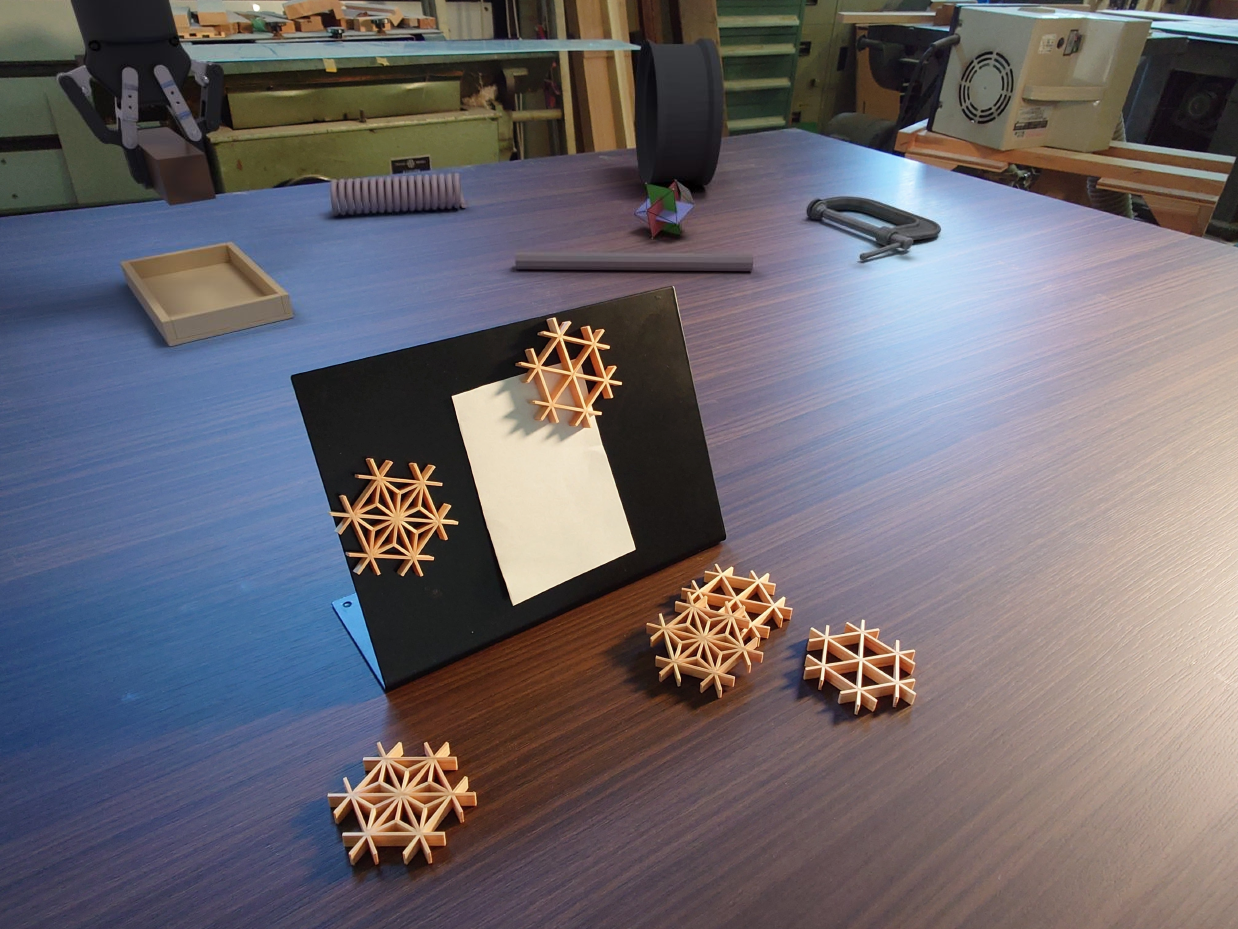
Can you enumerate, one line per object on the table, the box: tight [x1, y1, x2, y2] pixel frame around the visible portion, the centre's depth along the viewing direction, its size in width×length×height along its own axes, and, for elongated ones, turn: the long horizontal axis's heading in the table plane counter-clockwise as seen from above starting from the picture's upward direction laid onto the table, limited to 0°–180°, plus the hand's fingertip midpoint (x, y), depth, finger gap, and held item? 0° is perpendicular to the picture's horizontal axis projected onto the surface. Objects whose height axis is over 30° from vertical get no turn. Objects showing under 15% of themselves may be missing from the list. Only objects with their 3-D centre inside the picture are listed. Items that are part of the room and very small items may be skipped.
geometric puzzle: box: [632, 180, 696, 240], centre depth 102 cm, size 7×7×8 cm
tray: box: [119, 241, 295, 347], centre depth 84 cm, size 12×20×2 cm, turn 37°
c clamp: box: [805, 195, 942, 262], centre depth 106 cm, size 20×17×3 cm
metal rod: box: [514, 251, 754, 272], centre depth 93 cm, size 2×27×2 cm, turn 90°
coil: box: [329, 172, 468, 217], centre depth 110 cm, size 5×5×18 cm
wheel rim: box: [634, 37, 724, 187], centre depth 119 cm, size 20×9×20 cm, turn 8°
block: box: [137, 126, 217, 207], centre depth 77 cm, size 4×14×4 cm, turn 37°
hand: (173, 182), depth 78 cm, fingers closed on block, 4 cm apart
